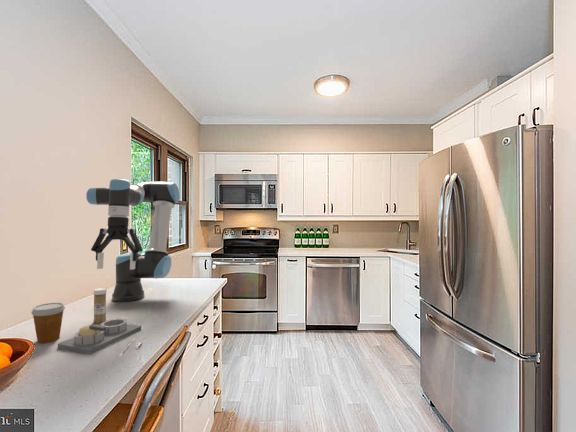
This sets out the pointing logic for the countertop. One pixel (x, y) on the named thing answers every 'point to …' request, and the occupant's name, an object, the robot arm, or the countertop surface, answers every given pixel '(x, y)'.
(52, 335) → the disposable coffee cup
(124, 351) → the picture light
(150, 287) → the countertop surface
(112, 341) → the gear housing
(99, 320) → the sprinkles bottle
